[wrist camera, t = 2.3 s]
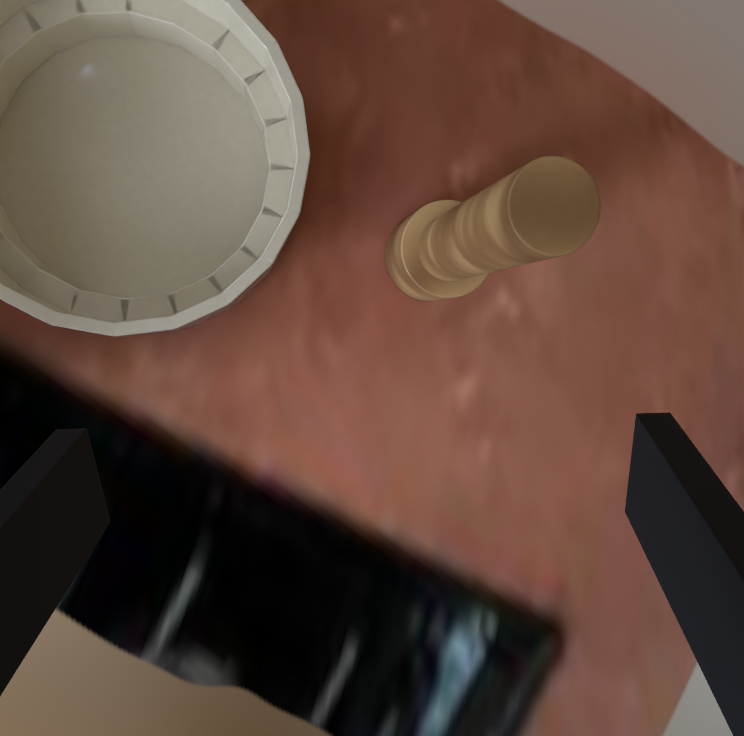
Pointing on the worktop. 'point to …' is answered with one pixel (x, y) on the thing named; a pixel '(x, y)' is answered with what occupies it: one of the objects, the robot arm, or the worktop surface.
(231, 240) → the mixing bowl
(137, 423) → the worktop surface
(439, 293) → the wooden masher
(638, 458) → the robot arm
